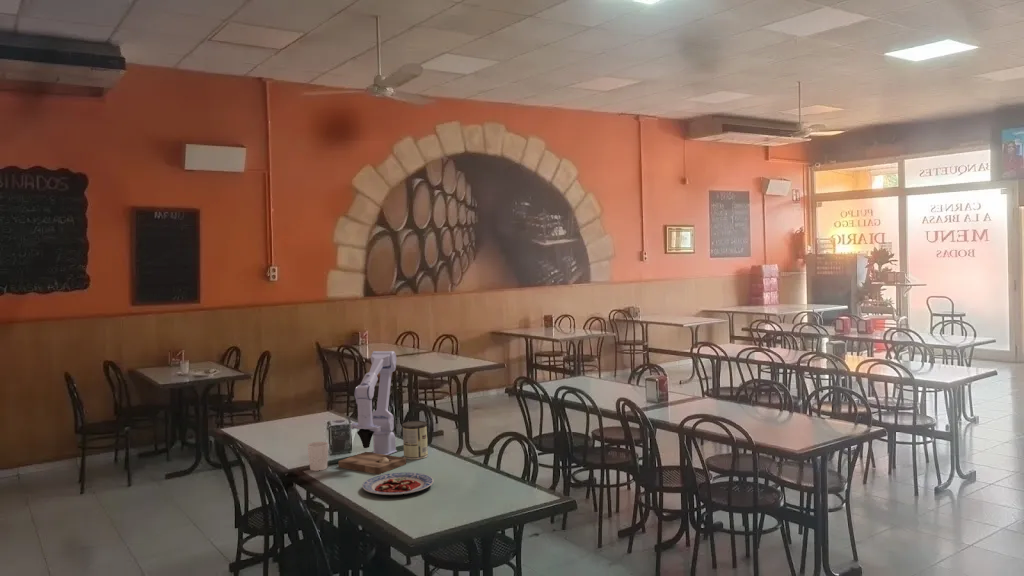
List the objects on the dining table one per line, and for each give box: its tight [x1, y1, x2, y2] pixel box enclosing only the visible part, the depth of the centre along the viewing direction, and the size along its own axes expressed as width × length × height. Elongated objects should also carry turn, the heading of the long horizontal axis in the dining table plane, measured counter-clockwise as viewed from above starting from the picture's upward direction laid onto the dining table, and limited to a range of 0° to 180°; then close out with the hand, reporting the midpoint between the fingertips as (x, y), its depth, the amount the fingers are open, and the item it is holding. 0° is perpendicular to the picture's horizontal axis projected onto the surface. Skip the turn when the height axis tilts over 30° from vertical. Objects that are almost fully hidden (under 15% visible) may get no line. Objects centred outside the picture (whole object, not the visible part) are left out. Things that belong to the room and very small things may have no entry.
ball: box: [379, 457, 389, 464], centre depth 305 cm, size 4×4×4 cm
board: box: [338, 451, 407, 475], centre depth 308 cm, size 16×22×2 cm
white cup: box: [307, 441, 329, 472], centre depth 305 cm, size 8×8×10 cm
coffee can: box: [402, 420, 429, 461], centre depth 320 cm, size 10×10×14 cm
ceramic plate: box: [362, 471, 435, 496], centre depth 277 cm, size 26×26×3 cm
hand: (366, 447), depth 309 cm, fingers closed
